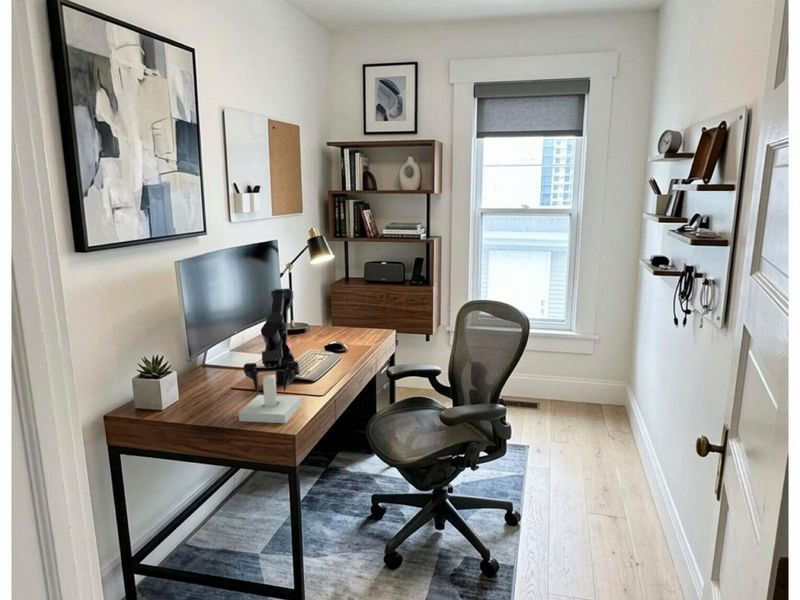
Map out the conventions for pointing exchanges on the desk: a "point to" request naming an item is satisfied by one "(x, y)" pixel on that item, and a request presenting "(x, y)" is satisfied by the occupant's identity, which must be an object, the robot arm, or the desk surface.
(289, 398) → the socket
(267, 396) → the plug
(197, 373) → the desk surface
